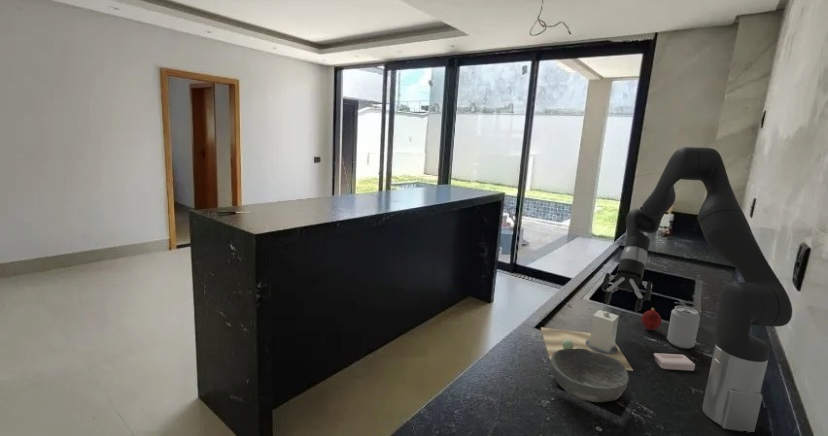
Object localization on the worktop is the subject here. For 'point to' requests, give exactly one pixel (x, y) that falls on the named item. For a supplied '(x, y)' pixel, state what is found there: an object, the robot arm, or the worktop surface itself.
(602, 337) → the small milk carton
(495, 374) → the worktop surface
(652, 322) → the onion
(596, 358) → the bowl
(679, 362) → the soap bar
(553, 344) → the board
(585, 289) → the worktop surface
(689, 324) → the can
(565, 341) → the ball
